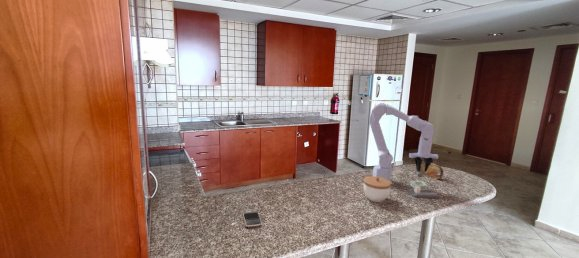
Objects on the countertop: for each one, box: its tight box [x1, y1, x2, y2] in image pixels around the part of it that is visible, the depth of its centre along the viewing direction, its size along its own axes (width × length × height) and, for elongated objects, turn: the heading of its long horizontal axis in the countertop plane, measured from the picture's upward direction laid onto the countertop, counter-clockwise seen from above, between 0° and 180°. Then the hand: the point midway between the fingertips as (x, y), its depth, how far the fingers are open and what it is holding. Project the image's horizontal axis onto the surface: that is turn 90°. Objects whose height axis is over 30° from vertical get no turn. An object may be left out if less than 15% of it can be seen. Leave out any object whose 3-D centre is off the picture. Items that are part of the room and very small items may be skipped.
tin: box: [424, 162, 444, 180], centre depth 162 cm, size 15×3×8 cm, turn 25°
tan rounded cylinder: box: [417, 160, 426, 178], centre depth 142 cm, size 3×3×8 cm
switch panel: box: [407, 188, 439, 199], centre depth 136 cm, size 12×7×2 cm, turn 91°
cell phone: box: [242, 211, 262, 228], centre depth 107 cm, size 6×11×1 cm, turn 17°
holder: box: [410, 180, 429, 189], centre depth 144 cm, size 6×6×3 cm
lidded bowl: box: [363, 175, 392, 203], centre depth 129 cm, size 13×13×11 cm
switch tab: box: [413, 186, 421, 193], centre depth 135 cm, size 2×3×3 cm, turn 1°
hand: (421, 171), depth 142 cm, fingers closed on tan rounded cylinder, 3 cm apart
